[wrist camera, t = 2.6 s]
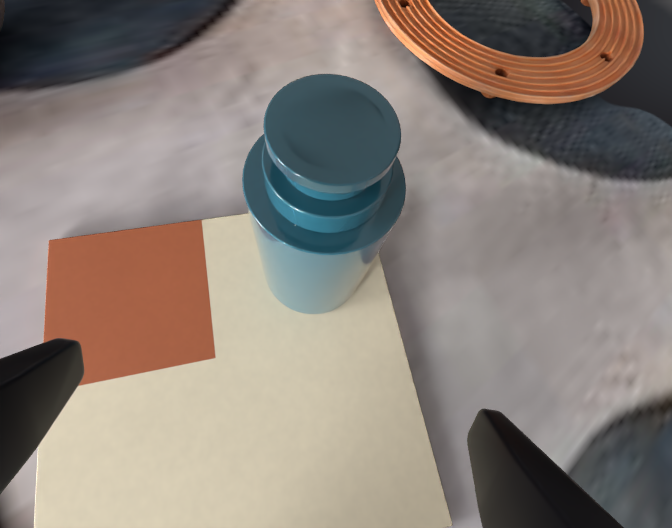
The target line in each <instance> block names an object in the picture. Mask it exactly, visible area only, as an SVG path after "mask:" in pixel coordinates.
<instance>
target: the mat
mask: <svg viewBox="0 0 672 528" xmlns="http://www.w3.org/2000/svg"><path fill="white" fill-rule="evenodd" d="M56 338H65V339H71V340H76V341H78V342H79V343H80V344H81V348H82V355H83V362H84V376H83V378H82V380H81V382H80V384H79V385H78V387H77V388H76V390H75V391H74V393H73V394H72V396H71V397H70V399H69V400H68V402H67V404H66V405H65V407H64V408H63V410H62V411H61V413H60V414H59V416H58V417H57V419H56V420H55V422H54V423H53V425H52V426H51V428H50V429H49V431H48V432H47V434H46V435H45V437H44V438H43V440H42V441H41V443H40V444H39V445H38V460H37V479H36V498H35V518H34V528H446V527H449V526H452V521H451V517H450V513H449V510H448V506H447V502H446V499H445V495H444V491H443V488H442V484H441V480H440V477H439V473H438V469H437V466H436V462H435V458H434V455H433V451H432V447H431V444H430V440H429V436H428V433H427V429H426V425H425V422H424V418H423V414H422V411H421V407H420V403H419V400H418V396H417V392H416V389H415V385H414V381H413V378H412V374H411V370H410V367H409V363H408V359H407V356H406V352H405V348H404V345H403V341H402V337H401V334H400V330H399V326H398V323H397V319H396V315H395V312H394V308H393V304H392V301H391V297H390V293H389V290H388V286H387V282H386V279H385V275H384V271H383V268H382V264H381V260H380V257H379V253H377V255H376V257H375V258H374V260H373V262H372V263H371V265H370V267H369V268H368V270H367V272H366V273H365V275H364V277H363V278H362V280H361V282H360V284H359V285H358V287H357V289H356V290H355V292H354V293H353V295H352V296H351V297H350V299H349V300H348V301H347V302H345V303H344V304H343V305H342V306H340V307H338V308H337V309H335V310H332V311H330V312H326V313H322V314H305V313H300V312H297V311H294V310H292V309H290V308H288V307H286V306H285V305H283V304H282V303H281V302H280V301H279V300H278V299H277V298H276V297H275V296H274V295H273V293H272V292H271V290H270V289H269V287H268V284H267V282H266V278H265V274H264V271H263V267H262V263H261V259H260V255H259V251H258V247H257V243H256V239H255V236H254V232H253V228H252V224H251V220H250V216H249V213H247V214H240V215H232V216H225V217H218V218H210V219H203V220H195V221H188V222H180V223H173V224H166V225H158V226H151V227H143V228H136V229H129V230H121V231H114V232H107V233H99V234H92V235H84V236H77V237H70V238H62V239H55V240H49V249H48V268H47V287H46V306H45V325H44V343H45V342H47V341H50V340H53V339H56Z"/></svg>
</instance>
